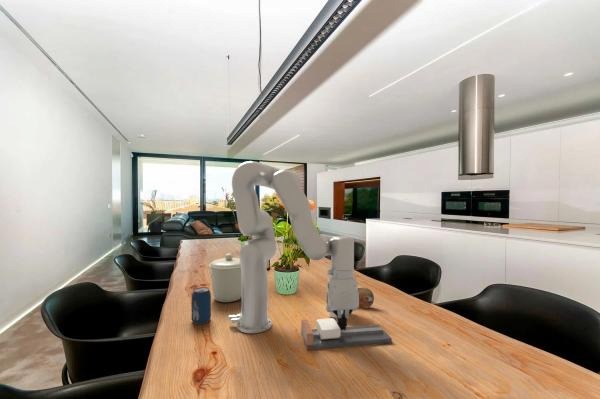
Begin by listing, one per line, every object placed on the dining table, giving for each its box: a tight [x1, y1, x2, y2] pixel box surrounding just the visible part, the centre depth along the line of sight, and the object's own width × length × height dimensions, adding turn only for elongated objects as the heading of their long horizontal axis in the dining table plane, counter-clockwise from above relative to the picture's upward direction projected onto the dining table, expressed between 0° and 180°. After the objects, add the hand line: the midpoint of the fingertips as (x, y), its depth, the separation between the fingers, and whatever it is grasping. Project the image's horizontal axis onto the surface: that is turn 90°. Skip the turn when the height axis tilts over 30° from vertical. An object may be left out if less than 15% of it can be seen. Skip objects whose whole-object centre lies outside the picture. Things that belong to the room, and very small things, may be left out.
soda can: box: [191, 286, 212, 325], centre depth 106 cm, size 7×7×12 cm
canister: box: [208, 252, 242, 303], centre depth 130 cm, size 18×18×21 cm
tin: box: [358, 286, 375, 309], centre depth 122 cm, size 15×3×8 cm, turn 68°
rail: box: [301, 319, 393, 351], centre depth 93 cm, size 28×10×5 cm, turn 99°
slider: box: [316, 317, 340, 339], centre depth 92 cm, size 6×8×4 cm
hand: (341, 328), depth 93 cm, fingers closed
